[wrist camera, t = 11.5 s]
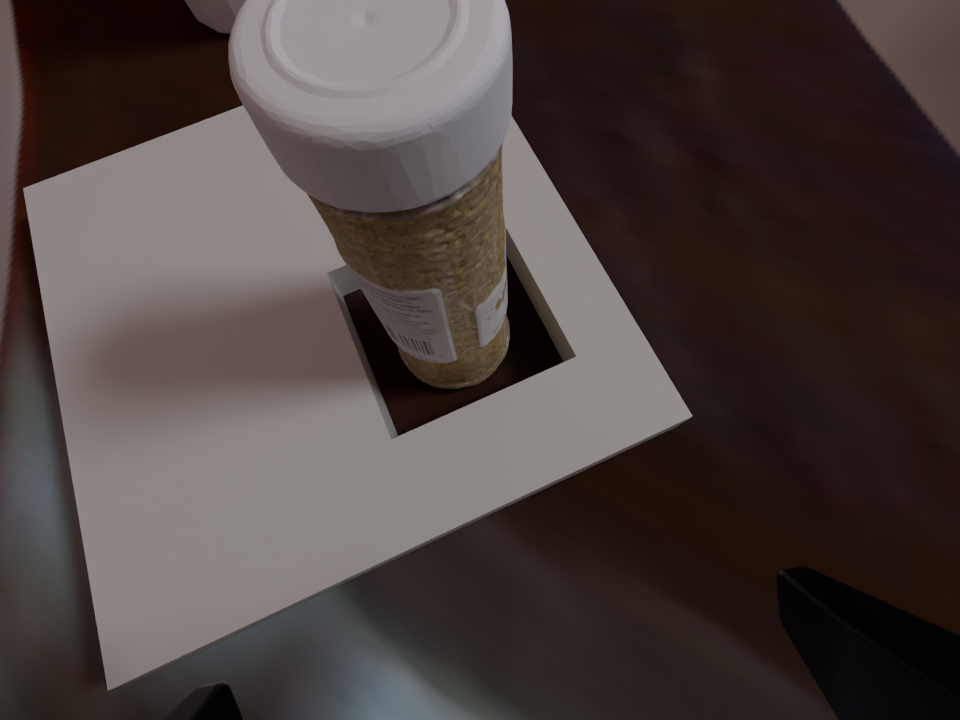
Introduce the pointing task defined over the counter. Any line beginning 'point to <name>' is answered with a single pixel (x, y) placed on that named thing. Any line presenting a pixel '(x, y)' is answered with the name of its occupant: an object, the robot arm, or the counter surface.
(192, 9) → the white cup
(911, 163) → the counter surface
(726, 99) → the counter surface
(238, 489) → the block
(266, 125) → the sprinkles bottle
